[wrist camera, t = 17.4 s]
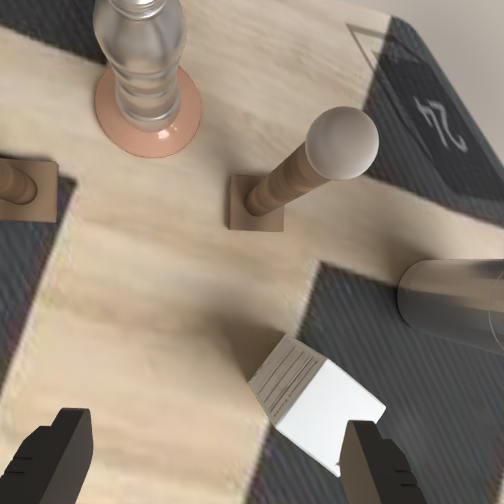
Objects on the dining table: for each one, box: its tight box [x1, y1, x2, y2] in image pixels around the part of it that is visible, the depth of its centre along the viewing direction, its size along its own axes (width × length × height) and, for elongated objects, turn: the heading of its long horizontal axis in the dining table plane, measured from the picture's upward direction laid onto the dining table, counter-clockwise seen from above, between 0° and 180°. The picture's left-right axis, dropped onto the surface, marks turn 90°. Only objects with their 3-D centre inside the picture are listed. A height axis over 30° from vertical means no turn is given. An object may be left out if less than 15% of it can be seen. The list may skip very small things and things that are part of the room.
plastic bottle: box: [93, 0, 187, 133], centre depth 32 cm, size 6×7×20 cm
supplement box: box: [248, 334, 386, 477], centre depth 38 cm, size 7×7×13 cm
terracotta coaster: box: [95, 66, 201, 158], centre depth 42 cm, size 11×11×1 cm
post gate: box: [0, 107, 379, 232], centre depth 30 cm, size 30×6×25 cm, turn 89°
